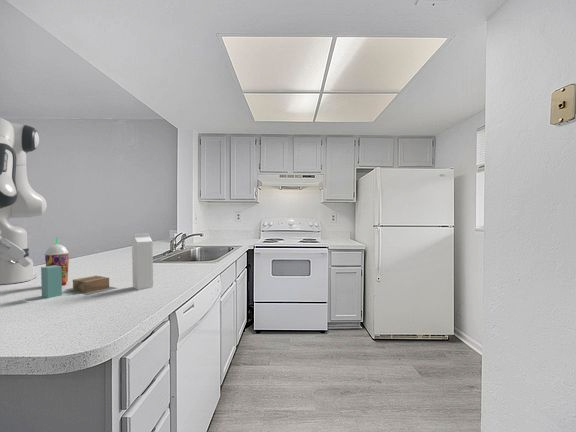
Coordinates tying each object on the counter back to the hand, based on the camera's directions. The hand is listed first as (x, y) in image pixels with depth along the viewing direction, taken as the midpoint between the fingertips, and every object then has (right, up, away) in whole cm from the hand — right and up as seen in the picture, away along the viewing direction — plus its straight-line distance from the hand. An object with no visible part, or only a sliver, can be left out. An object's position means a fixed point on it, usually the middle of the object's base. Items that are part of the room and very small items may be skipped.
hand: (21, 264), depth 113 cm
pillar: (+5, -13, +8) cm, 16 cm away
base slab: (+13, -12, +18) cm, 26 cm away
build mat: (+13, -13, +18) cm, 26 cm away
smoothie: (-5, -13, +25) cm, 29 cm away
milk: (+32, -13, +21) cm, 40 cm away
